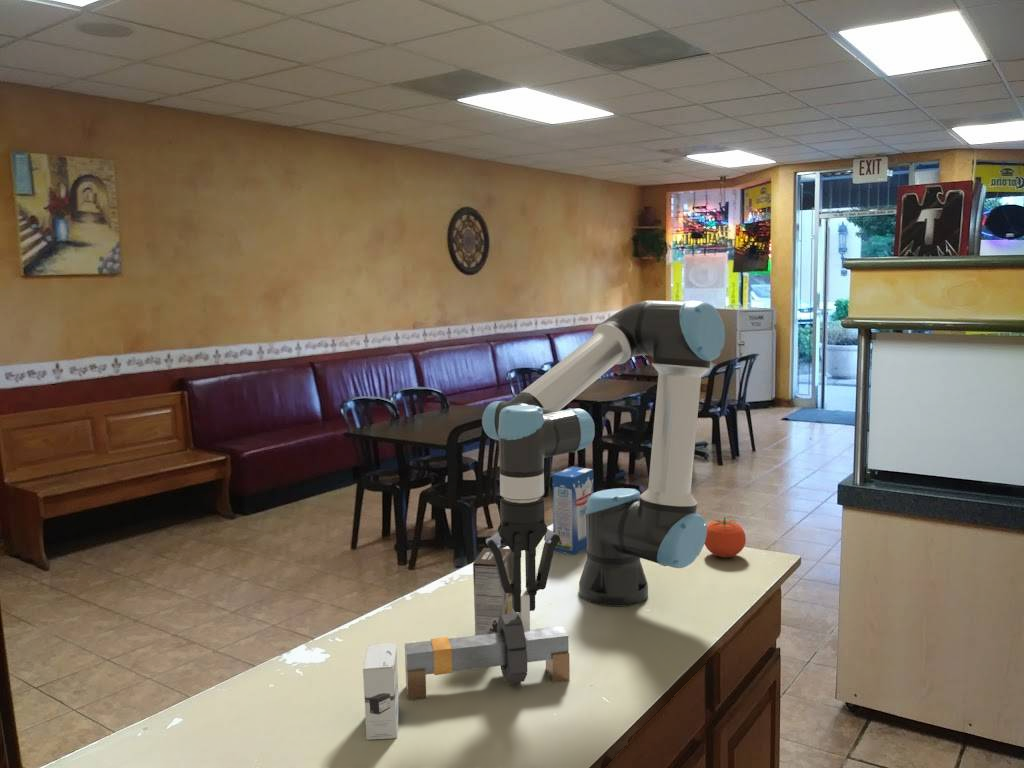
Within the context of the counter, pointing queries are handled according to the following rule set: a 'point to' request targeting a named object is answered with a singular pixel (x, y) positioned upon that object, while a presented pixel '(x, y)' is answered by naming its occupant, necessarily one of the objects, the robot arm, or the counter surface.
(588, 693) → the counter surface
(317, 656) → the counter surface
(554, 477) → the milk carton
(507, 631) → the gray octagonal collar
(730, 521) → the tomato
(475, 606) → the coffee box
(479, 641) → the pipe
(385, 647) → the ink box
